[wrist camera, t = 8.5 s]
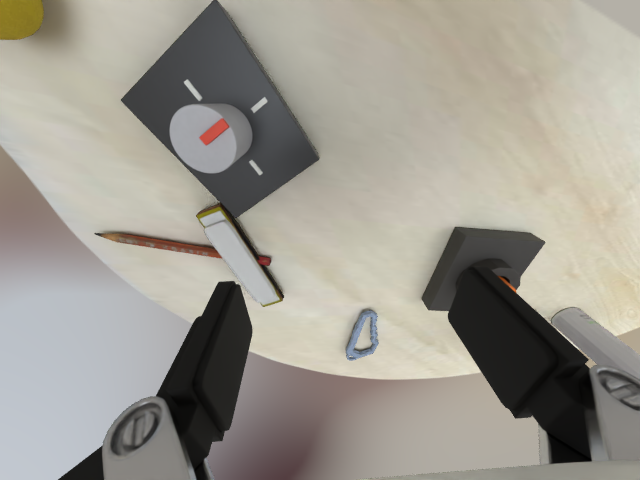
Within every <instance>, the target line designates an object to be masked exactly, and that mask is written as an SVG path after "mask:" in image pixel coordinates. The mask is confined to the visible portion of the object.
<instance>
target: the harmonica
mask: <svg viewBox="0 0 640 480" xmlns="http://www.w3.org/2000/svg"><path fill="white" fill-rule="evenodd" d="M196 217H197V218H198V220H199V221H200V223H201V224H202V225H203V227H204V228H205V229H204V232H205V234H206V236H207V238H208V239H209V241H210V242H211V243H212V245H213V246H214V247H215V249H216V250H217V251H218V253H219V254H220V255H221V257H222V258H223V259H224V261H225V262H226V263H227V265H228V266H229V267H230V269H231V270H232V271H233V273H234V274H235V275H236V277H237V278H238V279H239V281H240V282H241V283H242V285H243V286H244V287H245V289H246V290H247V291H248V293H249V294H250V295H251V296H252V298H253V299H254V300H255V301H256V302H258V303H260V304H261V305H262V306H263V307H265V306H268V305H272V304H275V303H278V302H281V301H283V298H284V295H283V294H282V292H281V290H280V289H279V287H278V286H277V284H276V282H275V281H274V279H273V278H272V276H271V275H270V273H269V271H268V270H267V268H266V267H265V265H261V264H259V262H258V261H257V260H260V258H259V256H258V254H257V253H256V251H255V250H254V248H253V246H252V245H251V243H250V242H249V240H248V239H247V237H246V236H245V234H244V232H243V231H242V229H241V228H240V226H239V225H238V223H237V222H236V220H235V219H234V217H233V216H232V214H231V213H230V212H229V211H228V210H227V208H226V207H225V206H224V205H223V204H222V203H220V204H218V205H215V206H213V207H210V208H208V209H205V210H203V211H200V212H199V213H198V214H197V215H196Z"/></svg>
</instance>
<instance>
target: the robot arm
mask: <svg viewBox="0 0 640 480" xmlns="http://www.w3.org/2000/svg"><path fill="white" fill-rule="evenodd" d="M448 320H449V322H450V324H451V325H452V327H453V328H454V330H455V332H456V333H457V335H458V336H459V338H460V339H461V341H462V342H463V344H464V345H465V347H466V349H467V350H468V352H469V353H470V355H471V356H472V358H473V359H474V361H475V363H476V364H477V366H478V367H479V369H480V370H481V372H482V373H483V375H484V376H485V378H486V379H487V381H488V383H489V384H490V386H491V387H492V389H493V390H494V392H495V393H496V395H497V396H498V398H499V400H500V401H501V403H502V404H503V405H504V406H505V407H506V408H508V409H509V410H510V411H511V412H512V414H513V416H514V417H515V418H528V417H531V416H532V415H533V417H534V418H535V419H536V421H537V422H538V428H539V453H540V454H539V456H540V465H531V466H519V467H506V468H492V469H480V470H467V471H455V472H443V473H430V474H418V475H406V476H394V477H382V478H370V479H358V480H640V379H638V378H637V377H635V376H633V375H632V374H630V373H627V372H625V371H623V370H621V369H618V368H615V367H612V366H609V365H601V364H599V365H594V366H593V367H592V368H591V369H590V368H589V367H588V366H587V365H585V363H586V362H587V361H588V358H586V357H585V356H584V355H583V354H582V353H581V352H580V351H579V350H578V349H577V348H576V347H574V346H573V345H572V344H571V343H570V342H569V341H568V340H567V339H566V338H565V337H564V336H562V335H561V334H560V333H559V332H558V331H557V330H556V329H555V328H554V327H553V326H552V325H550V324H549V323H548V322H547V321H546V320H545V319H544V318H543V317H542V316H541V315H540V314H538V313H537V312H536V311H535V310H534V309H533V308H532V307H531V306H530V305H529V304H528V303H526V302H525V301H524V300H523V299H522V298H521V297H520V296H519V295H518V294H517V293H516V292H514V291H513V290H512V289H511V288H510V287H509V286H508V285H507V284H506V283H505V282H504V281H502V280H501V279H500V278H499V277H498V276H497V275H496V274H495V273H494V272H493V271H492V270H490V269H489V268H488V267H486V266H477V267H469V268H468V269H467V271H465V272H464V274H463V276H462V279H461V281H460V284H459V287H458V289H457V292H456V295H455V297H454V300H453V302H452V305H451V308H450V310H449V313H448ZM251 337H252V325H251V321H250V318H249V315H248V311H247V308H246V304H245V301H244V297H243V294H242V291H241V287H240V285H239V284H236V283H235V282H234V281H226V282H219V283H218V284H217V286H216V288H215V290H214V292H213V294H212V296H211V298H210V300H209V302H208V304H207V306H206V308H205V310H204V312H203V314H202V316H199V317H198V318H196V319H195V321H194V323H193V325H192V327H191V328H190V330H189V332H188V334H187V336H186V338H185V340H184V342H183V344H182V346H181V348H180V350H179V352H178V354H177V356H176V358H175V360H174V362H173V364H172V366H171V368H170V370H169V371H168V373H167V375H166V377H165V379H164V381H163V383H162V385H161V387H160V389H159V391H158V393H157V395H156V397H148V398H144V399H141V400H140V401H138V402H136V403H134V404H132V405H131V406H130V407H128V408H127V409H126V410H125V411H123V412H122V414H120V416H119V417H118V418H117V419H116V420H115V421H114V422H113V424H112V425H111V427H110V428H109V430H108V431H107V434H106V436H105V439H104V441H103V446H101V447H100V448H99V449H97V450H96V451H95V452H94V453H92V454H91V455H90V456H88V457H87V458H86V459H84V460H83V461H82V462H80V463H79V464H78V465H77V466H75V467H74V468H73V469H71V470H70V471H69V472H68V473H66V474H65V475H63V476H62V477H61V478H60V479H58V480H215V479H214V477H213V474H212V471H211V469H210V466H209V463H208V461H207V458H206V457H207V456H208V454H209V451H210V447H211V444H212V442H215V441H222V440H223V436H224V432H225V431H227V430H229V428H230V426H231V423H232V419H233V414H234V410H235V406H236V402H237V397H238V393H239V389H240V385H241V380H242V376H243V371H244V367H245V363H246V359H247V355H248V350H249V346H250V342H251Z"/></svg>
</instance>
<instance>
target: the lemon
mask: <svg viewBox="0 0 640 480" xmlns="http://www.w3.org/2000/svg"><path fill="white" fill-rule="evenodd" d="M43 14H44V9H43V4H42V0H0V40H17V39H22V38H25V37H28V36H30V35H33V34H34V33H35V32H36V31H37V30H38V29H39V28H40V26H41V23H42V21H43Z"/></svg>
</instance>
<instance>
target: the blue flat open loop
mask: <svg viewBox="0 0 640 480" xmlns="http://www.w3.org/2000/svg"><path fill="white" fill-rule="evenodd" d="M370 316H371V319H372V320H371V325H370V327H371V331H370V333H371V335H372V336H371V339H370V340H371V342H372V343H373V345H372V347H371V348H370V349H367V350H364V351H361V352H359V351H356V350H354V347H355V345H356V342H357V340H358V337H359V335H360V332H361V329H362V327H363V324H364V322H365V319H366V318H367V317H370ZM377 317H378V316H377V314H376V313H375V312H373V311H371V310H369V311H366V312H363V313H362V314H361V316H360V317H359V320H358V322H357V323H356V325H355V328H354V330H353V332H352V337H351V340H350V342H349V344H348V346H347V348H346V354H347V355H346V357H347V359H348V360H350V361H352V360H356V359H358V358H360V357H363V356H367V355H370V354H373V353H374V351H375V349H376V347H377V345H378V344H379V342H378V340H377V339H376V337H377V335H378V334H377V332H376V330H377V327H376V325H375V323H376V321H377ZM350 355H351V356H353V357H349V356H350Z"/></svg>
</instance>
